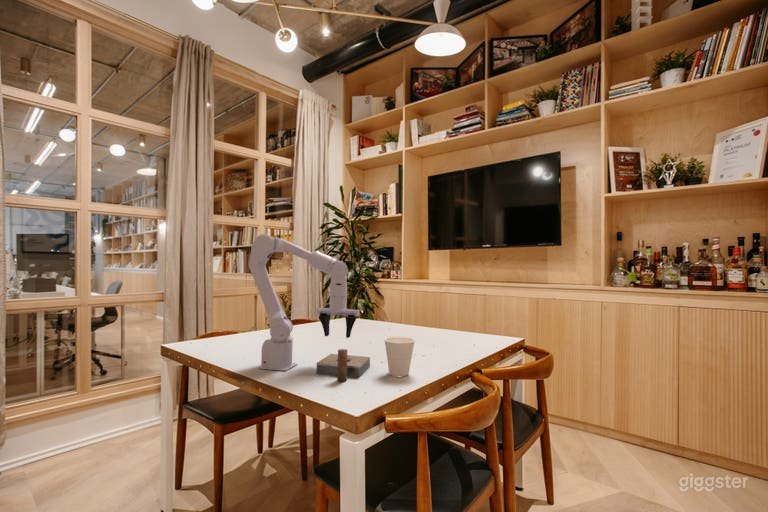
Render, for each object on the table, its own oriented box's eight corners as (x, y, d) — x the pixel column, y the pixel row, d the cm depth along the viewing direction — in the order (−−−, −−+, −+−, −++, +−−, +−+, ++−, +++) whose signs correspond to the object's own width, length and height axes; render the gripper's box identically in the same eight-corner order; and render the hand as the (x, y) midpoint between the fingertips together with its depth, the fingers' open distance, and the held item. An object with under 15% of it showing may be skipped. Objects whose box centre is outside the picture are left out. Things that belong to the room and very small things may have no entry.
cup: (378, 371, 121) (379, 337, 121) (406, 368, 124) (407, 335, 124) (390, 380, 111) (390, 343, 112) (420, 377, 115) (420, 341, 115)
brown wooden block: (335, 381, 110) (336, 350, 110) (339, 378, 112) (340, 348, 113) (344, 382, 109) (345, 351, 109) (348, 379, 112) (348, 349, 112)
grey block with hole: (316, 373, 117) (316, 362, 117) (330, 363, 129) (330, 353, 129) (359, 377, 114) (359, 366, 114) (369, 367, 125) (370, 357, 125)
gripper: (313, 296, 124) (312, 337, 124) (355, 298, 121) (354, 340, 121) (321, 294, 131) (321, 333, 131) (361, 296, 128) (360, 336, 127)
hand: (337, 336), depth 126 cm, fingers open, 7 cm apart
